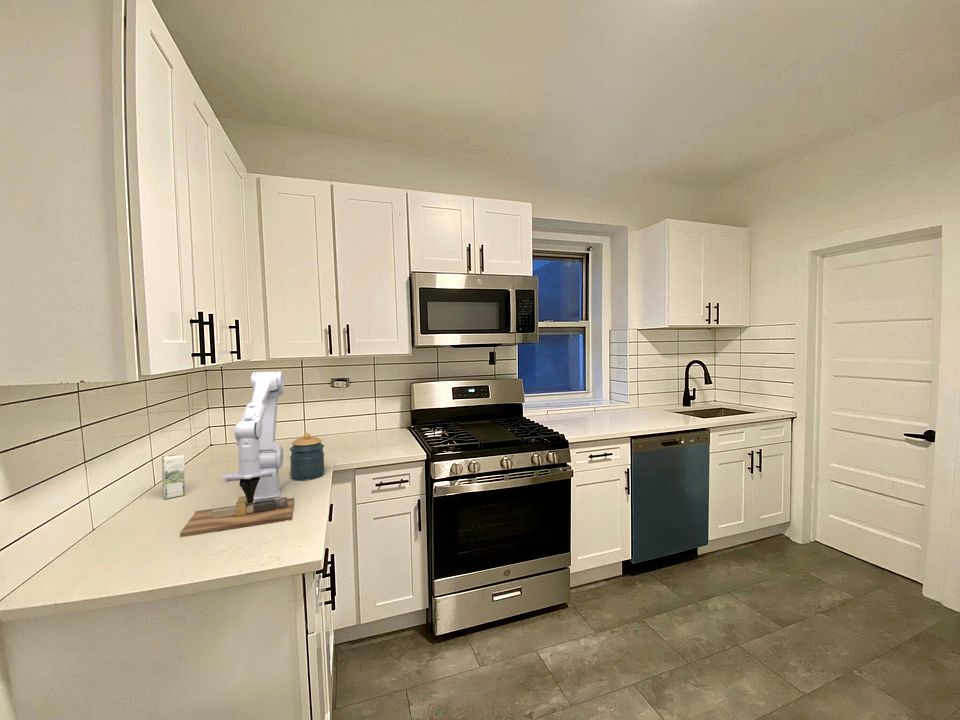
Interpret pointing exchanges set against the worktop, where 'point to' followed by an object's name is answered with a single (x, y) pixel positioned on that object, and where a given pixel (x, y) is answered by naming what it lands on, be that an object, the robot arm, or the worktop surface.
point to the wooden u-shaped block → (241, 506)
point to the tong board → (238, 518)
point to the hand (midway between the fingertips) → (250, 501)
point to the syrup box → (173, 476)
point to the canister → (307, 458)
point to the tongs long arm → (249, 509)
